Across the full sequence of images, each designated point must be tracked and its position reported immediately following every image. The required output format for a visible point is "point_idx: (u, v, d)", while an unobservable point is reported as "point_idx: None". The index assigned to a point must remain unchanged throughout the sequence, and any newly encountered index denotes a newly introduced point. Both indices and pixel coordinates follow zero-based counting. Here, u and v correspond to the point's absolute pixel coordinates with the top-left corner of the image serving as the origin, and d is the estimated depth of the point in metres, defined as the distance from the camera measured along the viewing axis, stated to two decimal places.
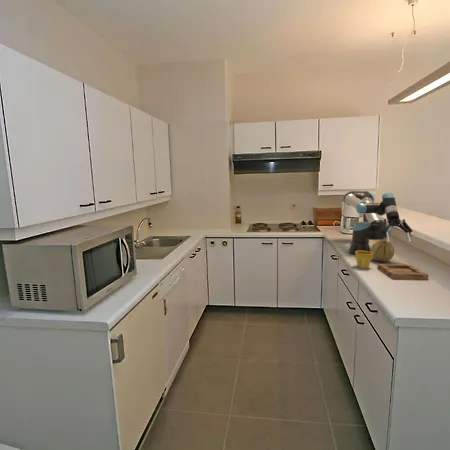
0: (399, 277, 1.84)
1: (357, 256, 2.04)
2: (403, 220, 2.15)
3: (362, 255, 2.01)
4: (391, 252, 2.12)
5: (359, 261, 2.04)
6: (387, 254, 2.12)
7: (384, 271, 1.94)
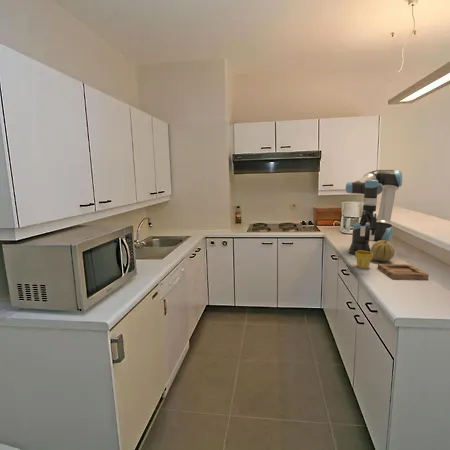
0: (399, 277, 1.84)
1: (357, 256, 2.04)
2: (371, 215, 1.95)
3: (362, 255, 2.01)
4: (391, 252, 2.12)
5: (359, 261, 2.04)
6: (387, 254, 2.12)
7: (384, 271, 1.94)
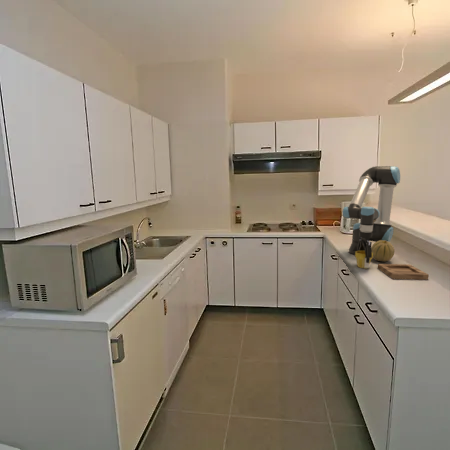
0: (399, 277, 1.84)
1: (357, 256, 2.04)
2: (366, 243, 1.98)
3: (362, 255, 2.01)
4: (391, 252, 2.12)
5: (359, 261, 2.04)
6: (387, 254, 2.12)
7: (384, 271, 1.94)
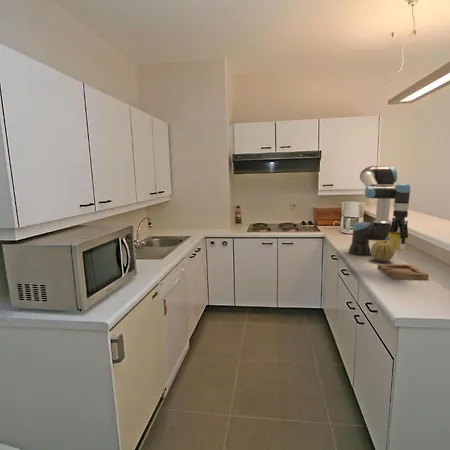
0: (399, 277, 1.84)
1: (391, 237, 1.90)
2: (402, 222, 1.85)
3: (396, 236, 1.87)
4: (391, 252, 2.12)
5: (393, 242, 1.90)
6: (387, 254, 2.12)
7: (384, 271, 1.94)
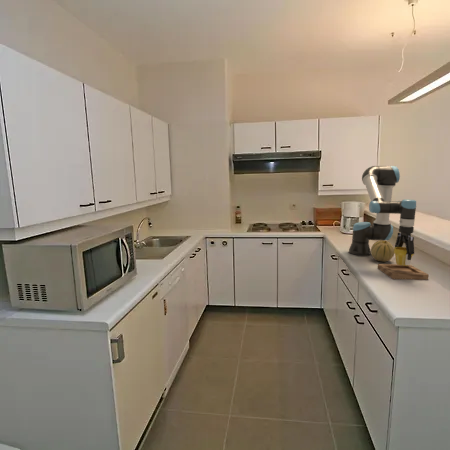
0: (399, 277, 1.84)
1: (397, 253, 1.90)
2: (408, 238, 1.84)
3: (402, 252, 1.87)
4: (391, 252, 2.12)
5: (399, 258, 1.90)
6: (387, 254, 2.12)
7: (384, 271, 1.94)
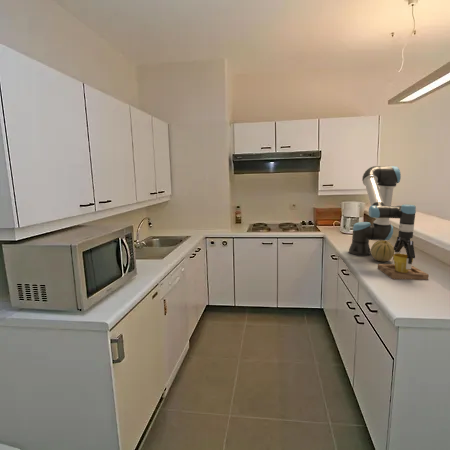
0: (399, 277, 1.84)
1: (396, 260, 1.91)
2: (408, 242, 1.84)
3: (402, 259, 1.88)
4: (391, 252, 2.12)
5: (398, 265, 1.91)
6: (387, 254, 2.12)
7: (384, 271, 1.94)
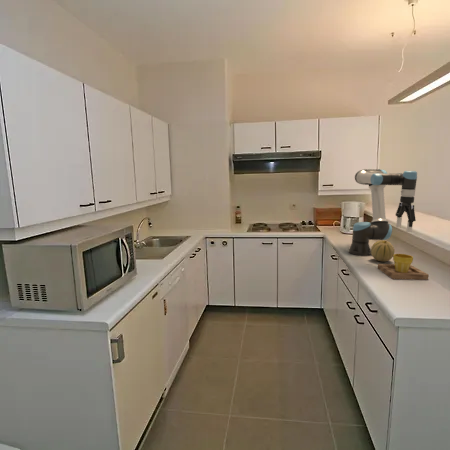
0: (399, 277, 1.84)
1: (396, 260, 1.91)
2: (409, 206, 1.94)
3: (401, 259, 1.88)
4: (391, 252, 2.12)
5: (398, 265, 1.91)
6: (387, 254, 2.12)
7: (384, 271, 1.94)
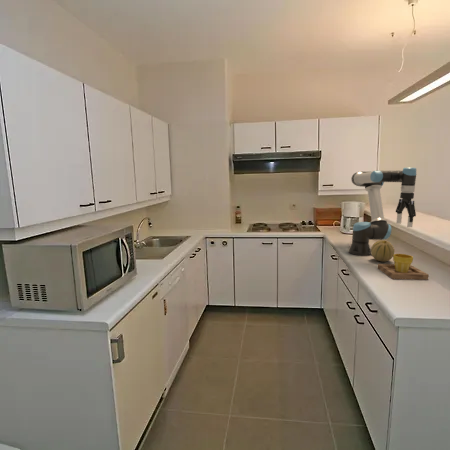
0: (399, 277, 1.84)
1: (396, 260, 1.91)
2: (409, 202, 1.98)
3: (401, 259, 1.88)
4: (391, 252, 2.12)
5: (398, 265, 1.91)
6: (387, 254, 2.12)
7: (384, 271, 1.94)
